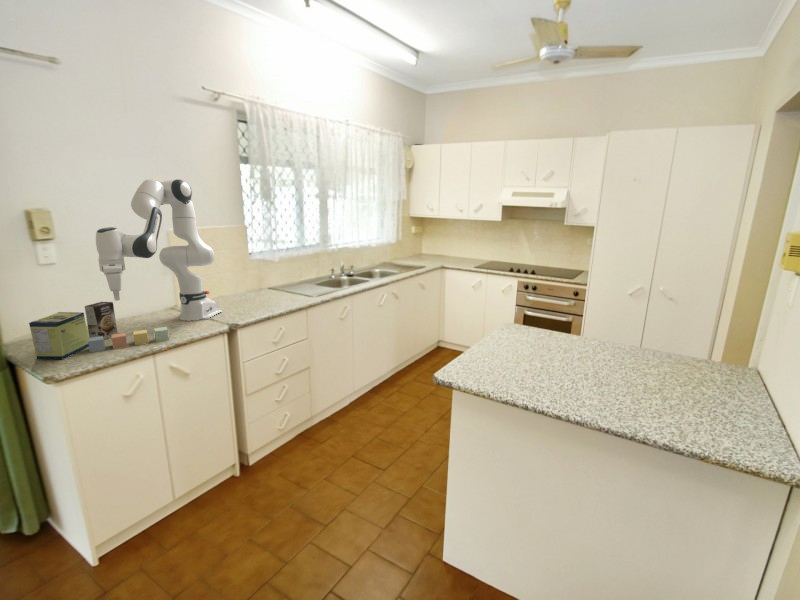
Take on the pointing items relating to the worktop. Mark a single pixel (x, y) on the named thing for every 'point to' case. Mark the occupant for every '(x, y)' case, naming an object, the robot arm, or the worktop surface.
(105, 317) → the coffee box
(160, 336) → the sage block
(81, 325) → the protein box
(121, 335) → the terracotta block
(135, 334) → the ochre block
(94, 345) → the slate block
